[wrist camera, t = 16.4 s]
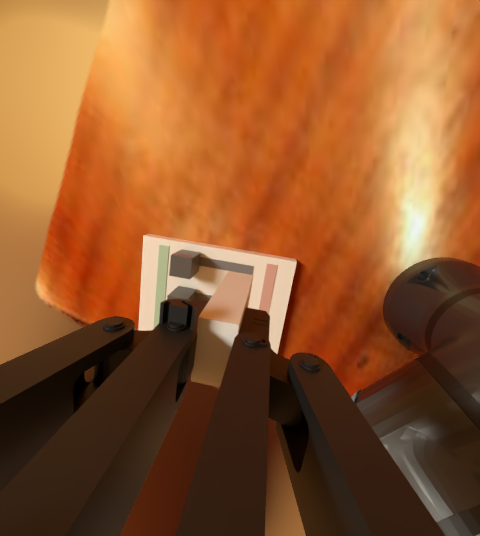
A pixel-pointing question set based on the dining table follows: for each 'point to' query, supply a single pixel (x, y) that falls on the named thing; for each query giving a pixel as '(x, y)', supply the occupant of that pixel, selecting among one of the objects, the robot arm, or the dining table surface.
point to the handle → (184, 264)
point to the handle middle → (183, 293)
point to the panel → (215, 279)
